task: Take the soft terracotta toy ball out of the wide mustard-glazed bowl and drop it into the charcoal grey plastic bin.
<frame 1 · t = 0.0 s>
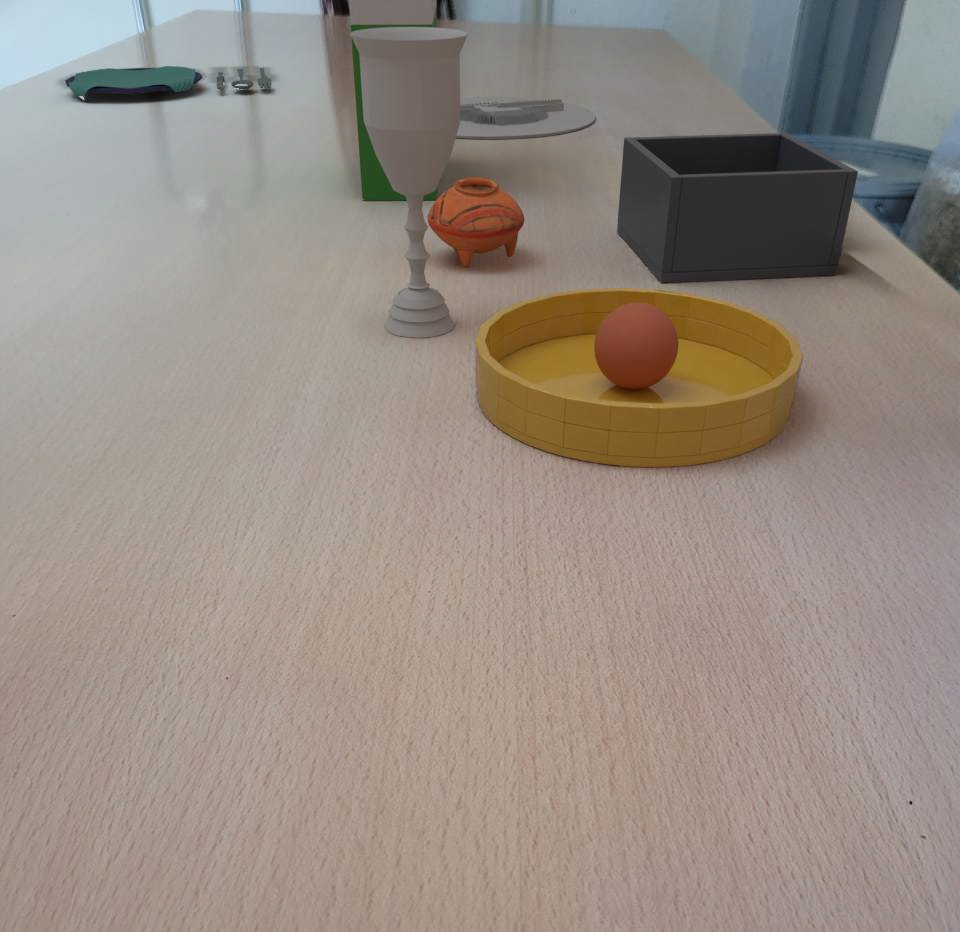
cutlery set: (171, 92, 152), on the table
plate: (490, 119, 134), on the table
chalice: (419, 327, 72), on the table
bin: (720, 252, 86), on the table
white green box: (404, 181, 107), on the table
bowl: (631, 395, 62), on the table
toy ball: (636, 346, 60), point 3 cm above the table, touching bowl
pot: (475, 261, 84), on the table
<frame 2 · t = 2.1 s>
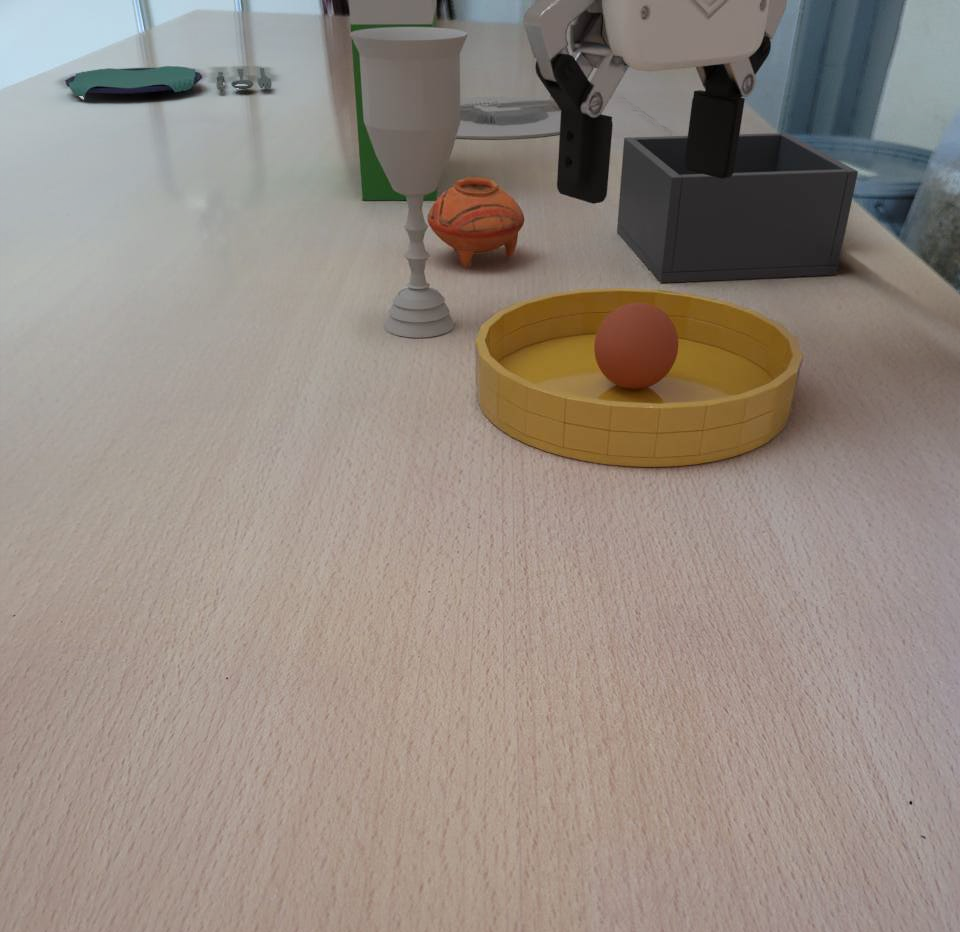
hand: (647, 185, 54), 12 cm above the table, tool pointing down, fingers open, 9 cm apart
nothing on the table moved.
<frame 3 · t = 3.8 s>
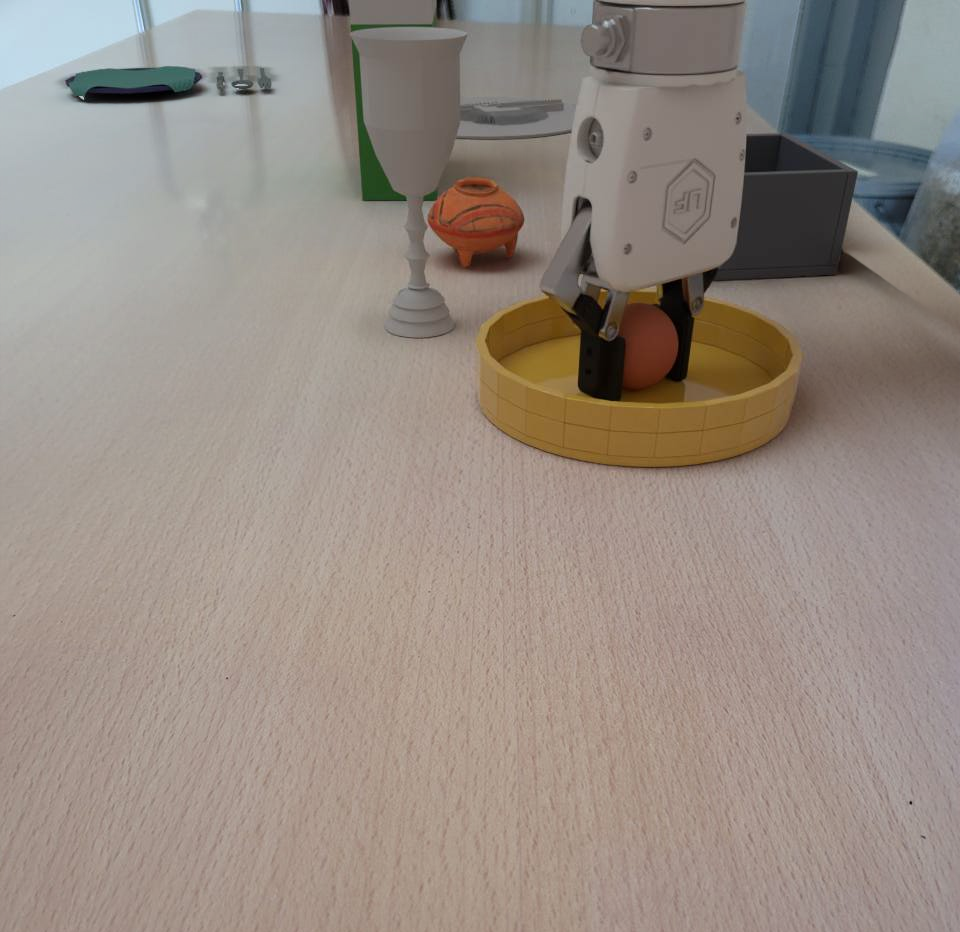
hand: (632, 382, 61), 1 cm above the table, tool pointing down, fingers closed on toy ball, 4 cm apart
toy ball: (636, 346, 60), point 3 cm above the table, touching bowl, gripper
everything else where it was.
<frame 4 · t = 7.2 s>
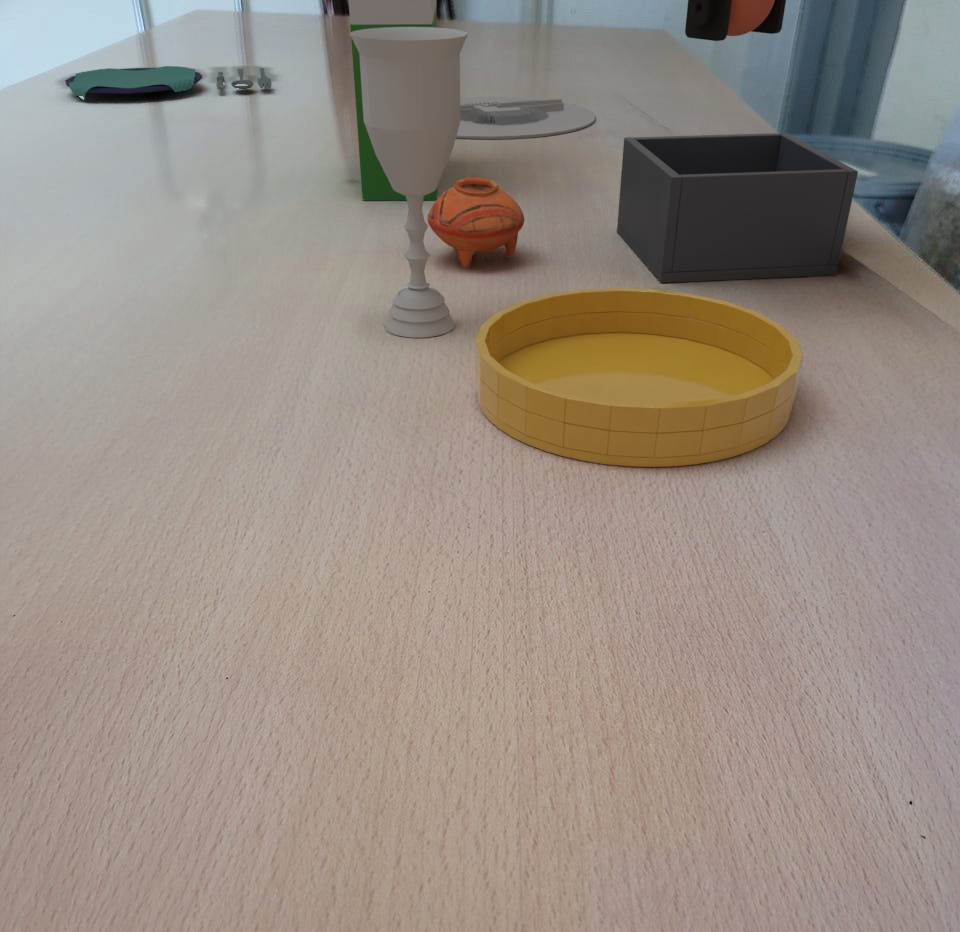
hand: (733, 31, 68), 17 cm above the table, tool pointing down, fingers closed on toy ball, 4 cm apart
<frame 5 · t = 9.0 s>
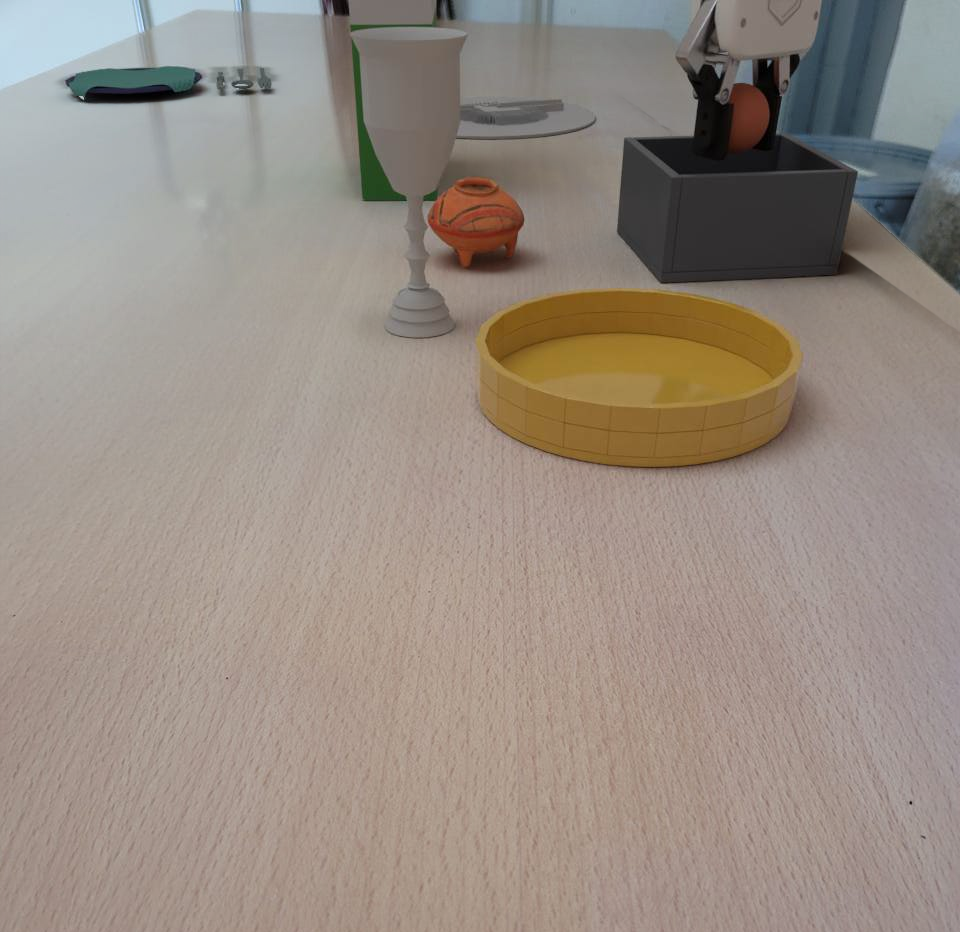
hand: (732, 150, 81), 8 cm above the table, tool pointing down, fingers closed on toy ball, 4 cm apart
toy ball: (736, 118, 79), point 10 cm above the table, touching gripper
everything else where it was.
when the fingers open (4 cm above the table, at t = 10.5 s): toy ball drops 3 cm, resting on bin.
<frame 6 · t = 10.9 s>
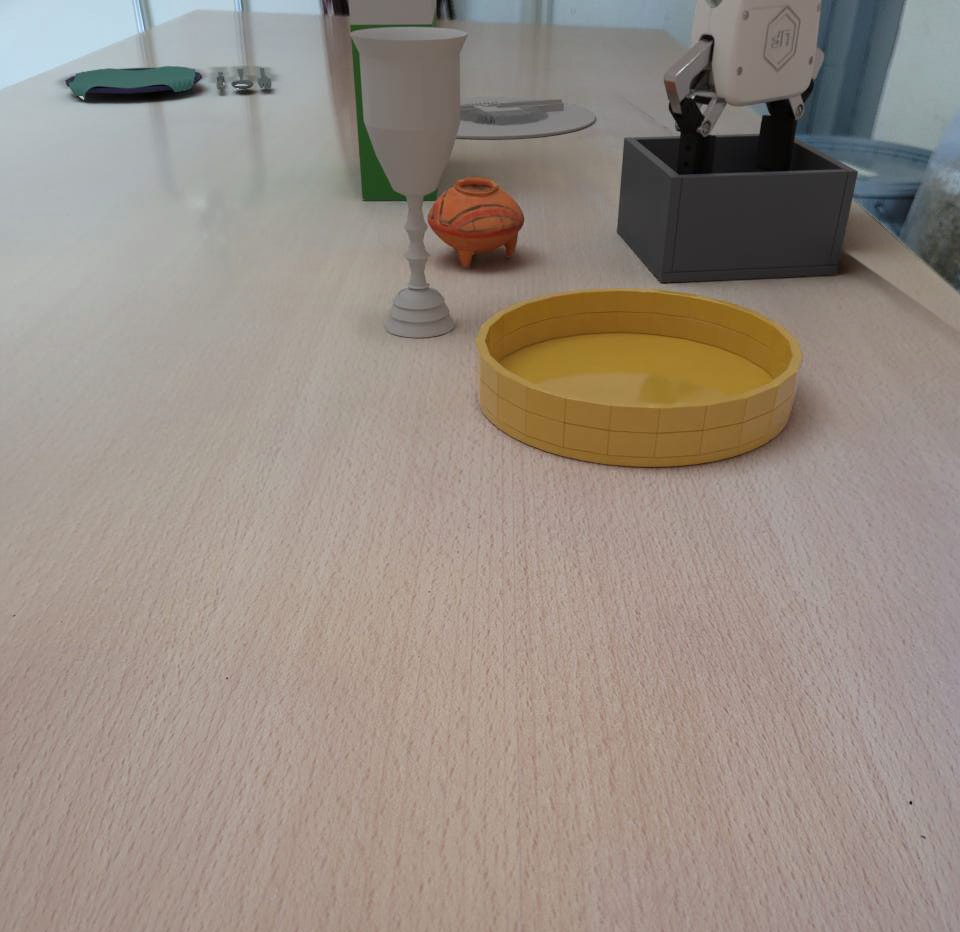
hand: (732, 178, 82), 6 cm above the table, tool pointing down, fingers open, 9 cm apart
toy ball: (725, 211, 84), point 3 cm above the table, touching bin
everything else where it was.
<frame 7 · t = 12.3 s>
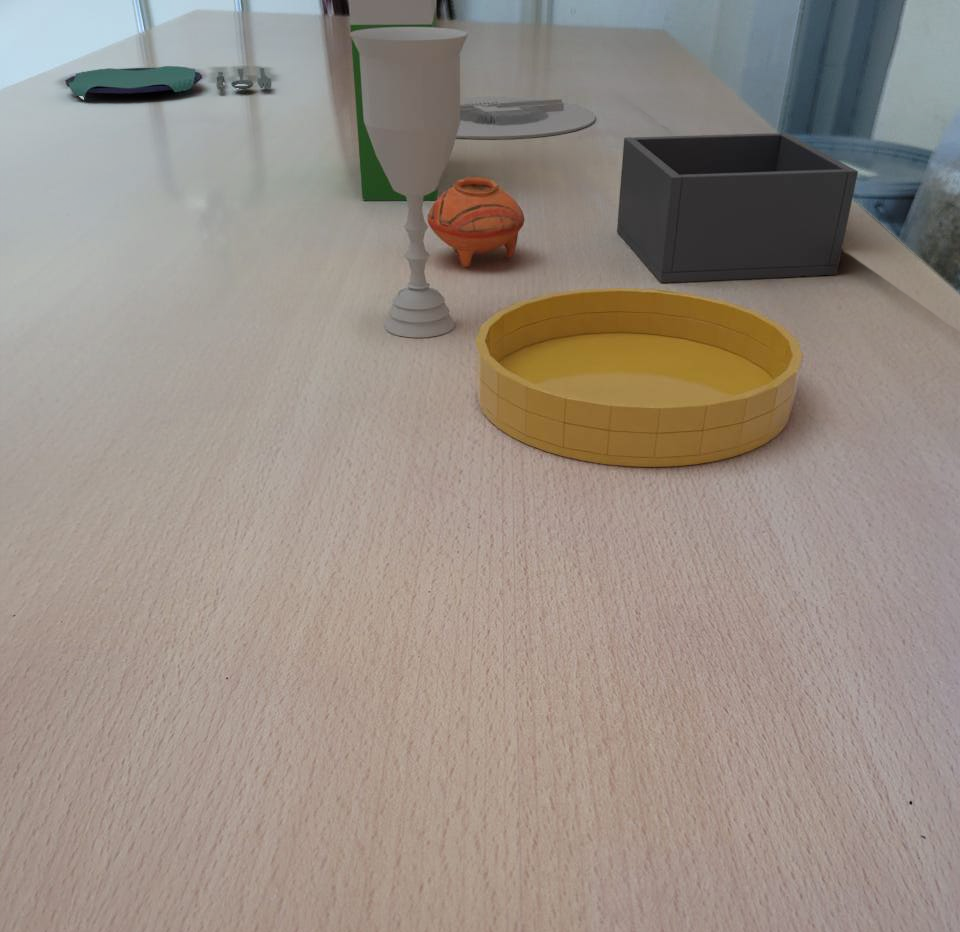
nothing on the table moved.
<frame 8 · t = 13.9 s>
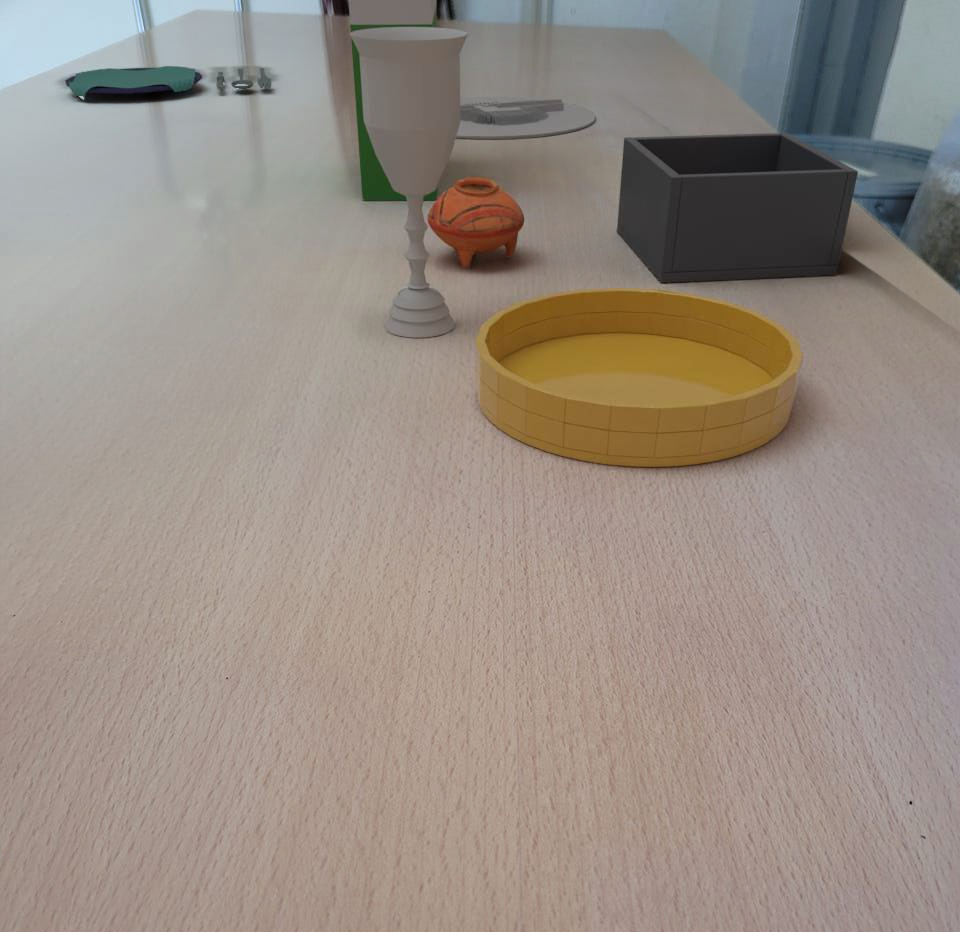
nothing on the table moved.
at the end: toy ball inside the target area in the bin (0.1 cm from its centre), point 3.3 cm above the bin's base; the gripper is holding nothing; toy ball moved 31.9 cm from its start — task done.
